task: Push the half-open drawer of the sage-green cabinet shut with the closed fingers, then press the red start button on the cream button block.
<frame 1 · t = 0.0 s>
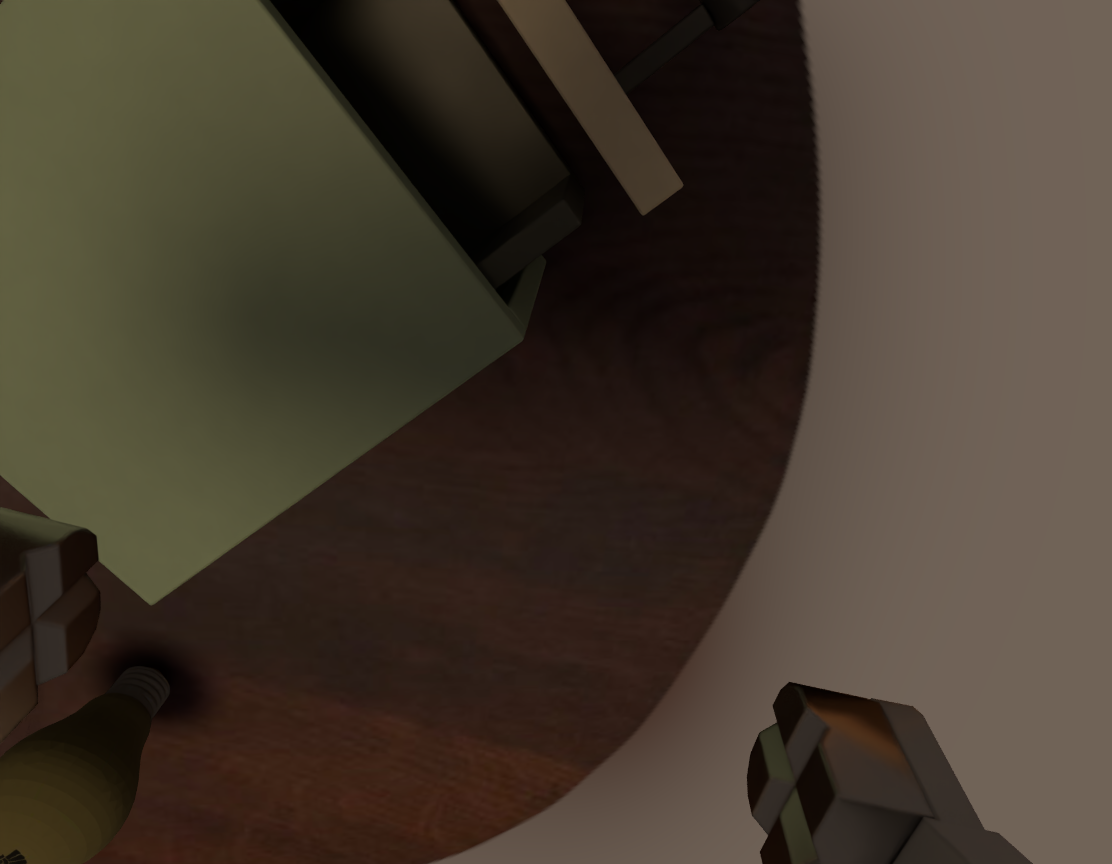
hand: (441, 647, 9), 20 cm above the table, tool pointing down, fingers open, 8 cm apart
light bulb: (155, 670, 37), on the table
drawer: (418, 103, 20), point 5 cm above the table, slide at 4.0 cm
cabinet: (289, 240, 27), on the table
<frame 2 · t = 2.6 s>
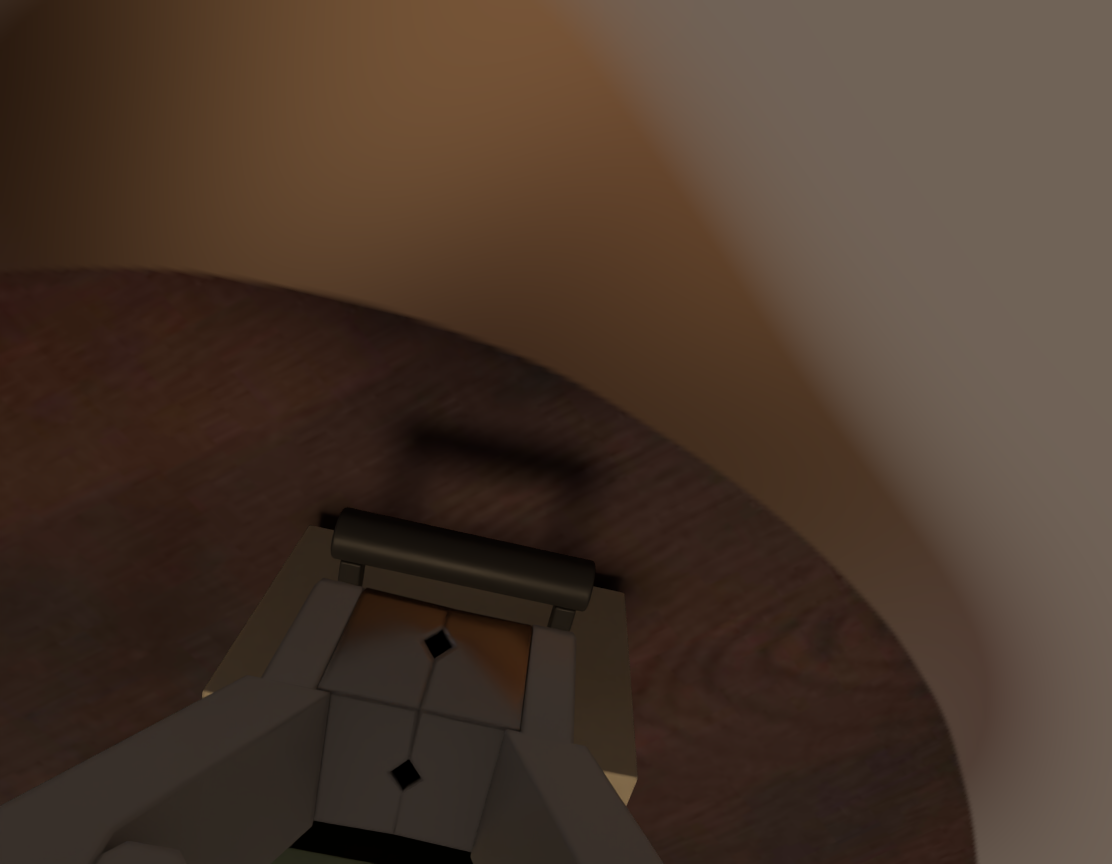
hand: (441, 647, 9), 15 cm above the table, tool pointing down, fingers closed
drawer: (427, 739, 24), point 5 cm above the table, slide at 4.0 cm
cabinet: (421, 775, 32), on the table
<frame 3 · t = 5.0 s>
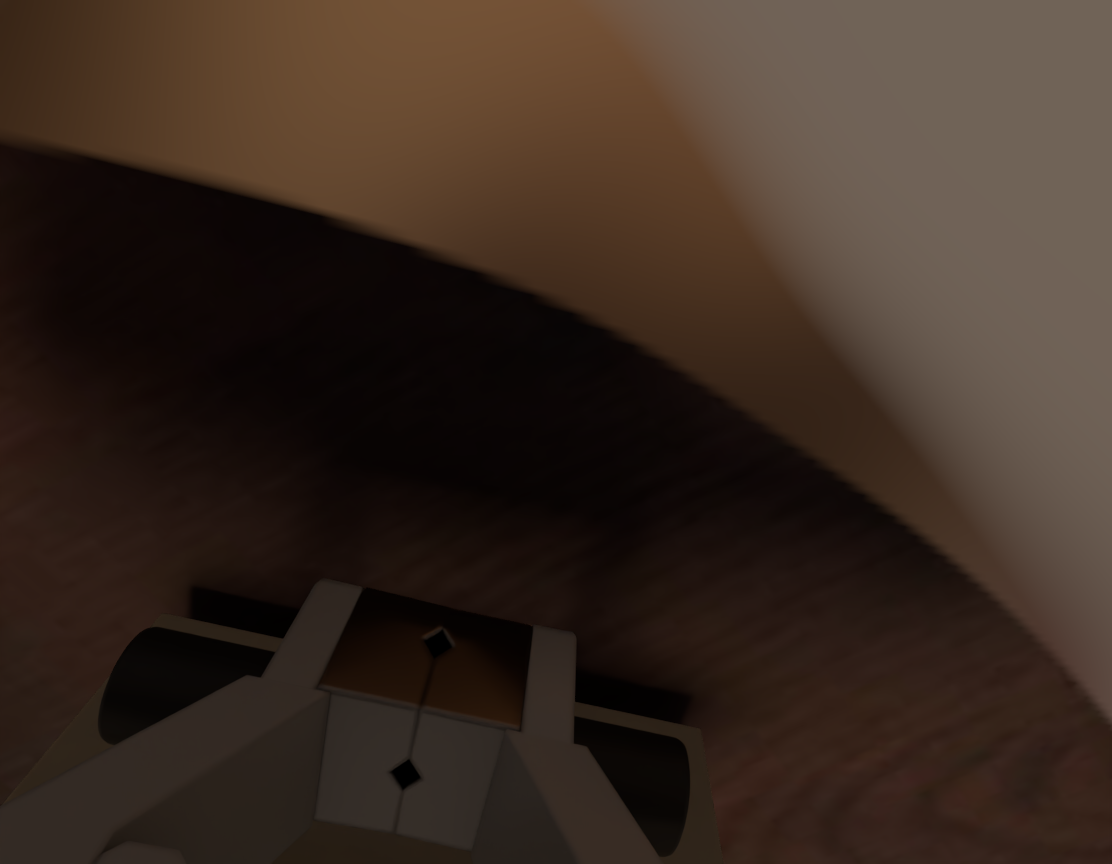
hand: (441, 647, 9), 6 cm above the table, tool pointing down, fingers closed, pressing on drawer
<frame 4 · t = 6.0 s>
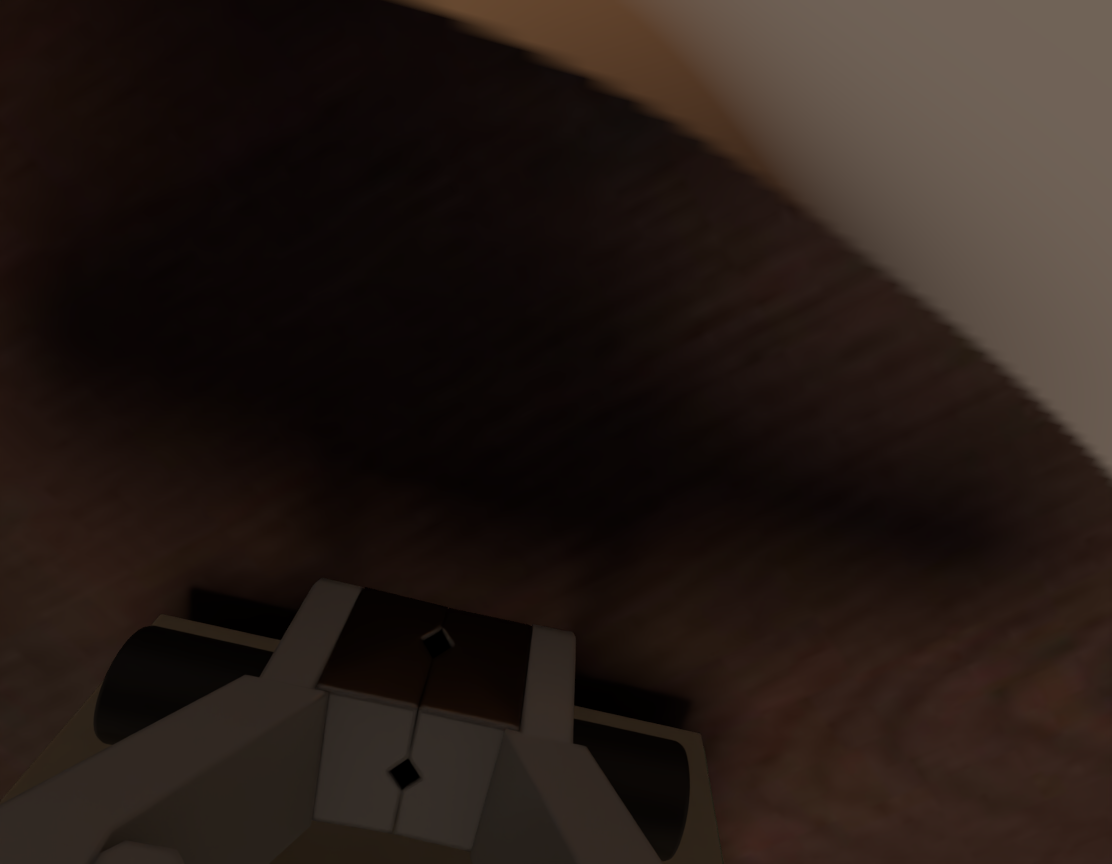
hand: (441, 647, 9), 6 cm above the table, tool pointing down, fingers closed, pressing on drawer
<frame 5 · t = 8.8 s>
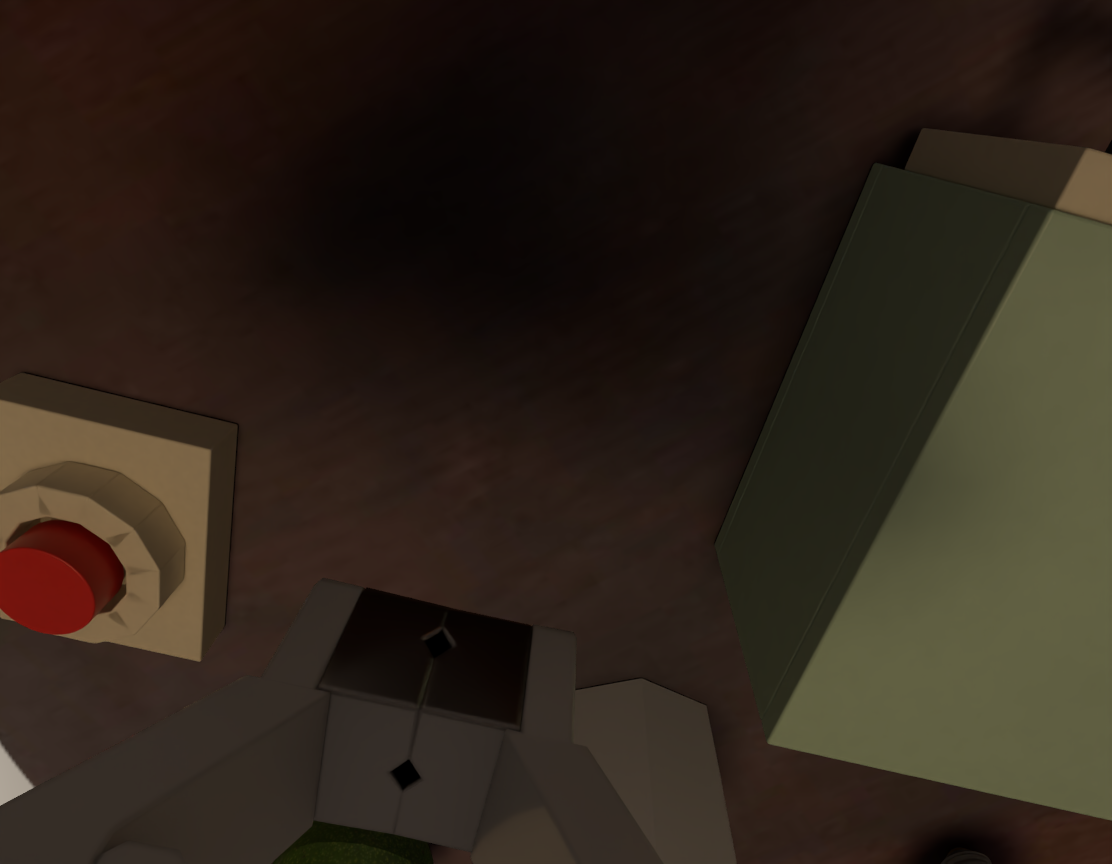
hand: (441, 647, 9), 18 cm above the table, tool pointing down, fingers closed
start button: (57, 577, 25), point 4 cm above the table, slide at 0.1 cm
light bulb: (955, 848, 36), on the table
fruit: (376, 810, 36), on the table
drawer: (1097, 368, 20), point 5 cm above the table, slide at 0.0 cm
mug: (648, 766, 34), on the table
button block: (131, 509, 29), on the table
cabinet: (951, 420, 26), on the table
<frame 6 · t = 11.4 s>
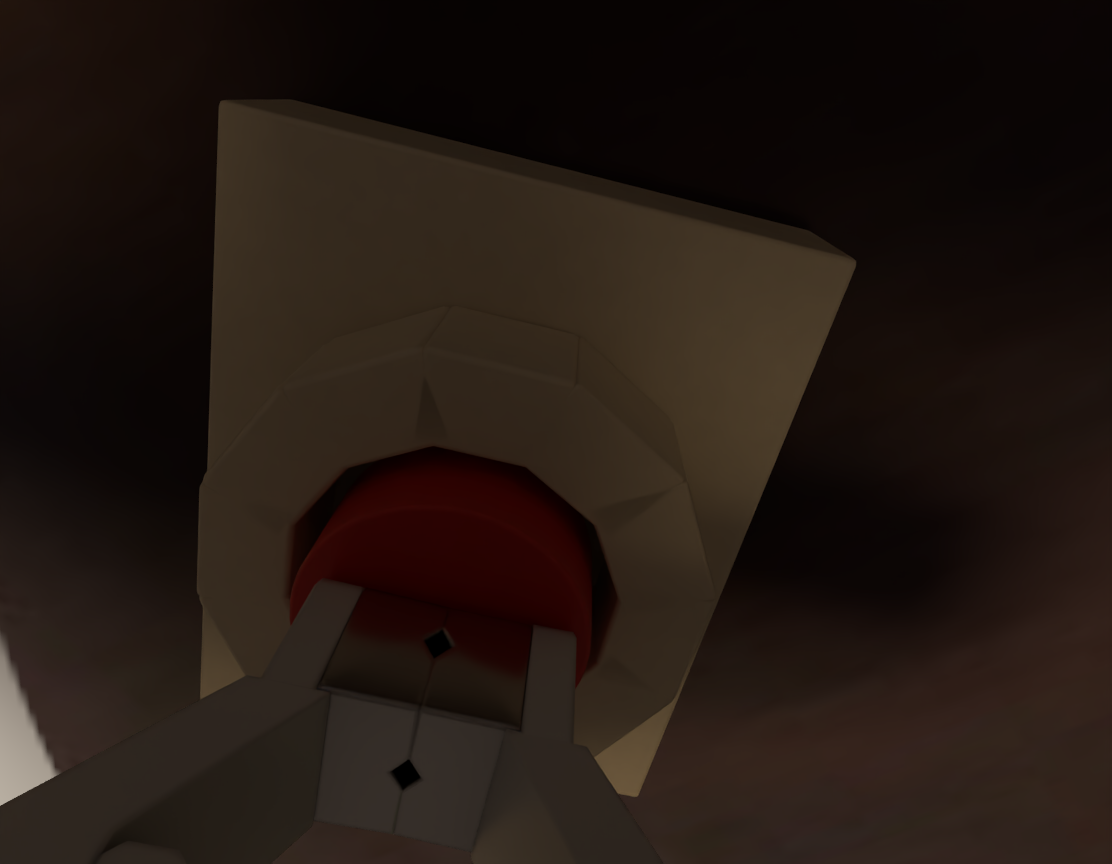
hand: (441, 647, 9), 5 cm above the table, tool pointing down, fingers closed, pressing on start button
start button: (452, 592, 9), point 4 cm above the table, slide at -0.5 cm, touching gripper
button block: (490, 457, 13), on the table
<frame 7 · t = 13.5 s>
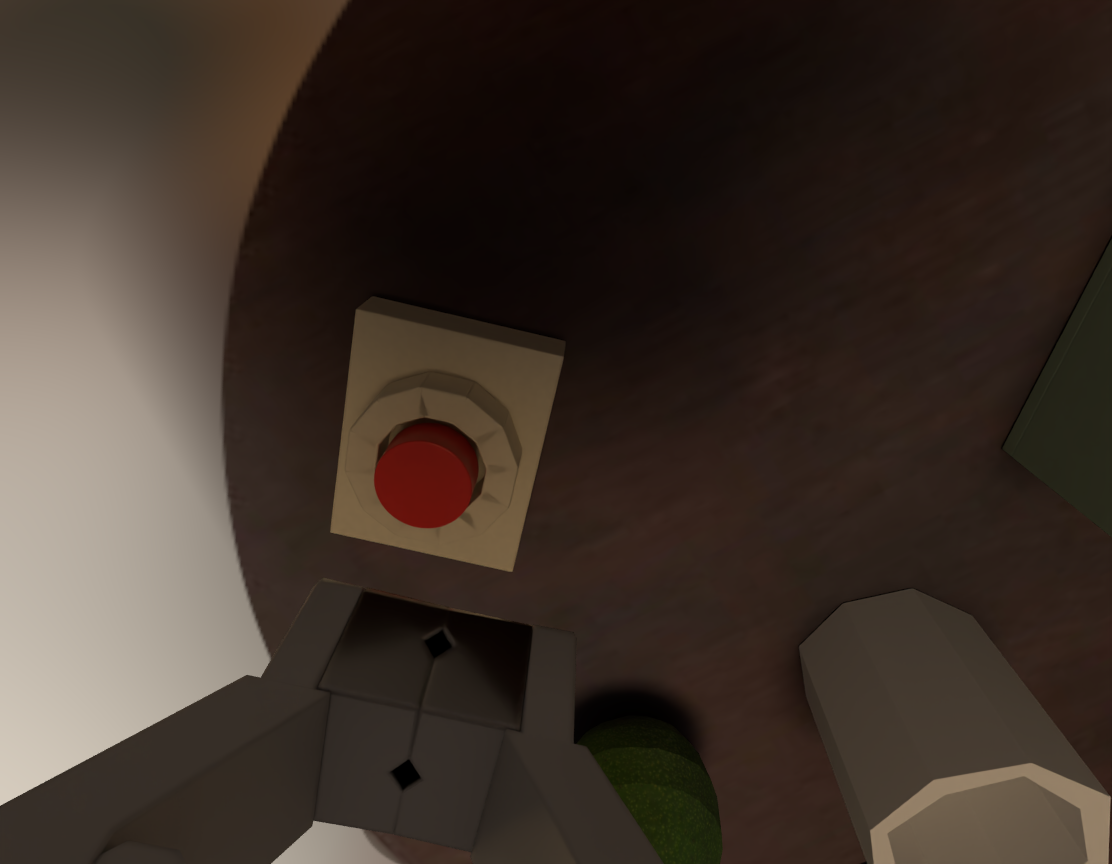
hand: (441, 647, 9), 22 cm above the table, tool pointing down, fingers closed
start button: (427, 475, 27), point 4 cm above the table, slide at 0.1 cm
fruit: (629, 736, 38), on the table
mug: (904, 682, 36), on the table
button block: (449, 429, 31), on the table
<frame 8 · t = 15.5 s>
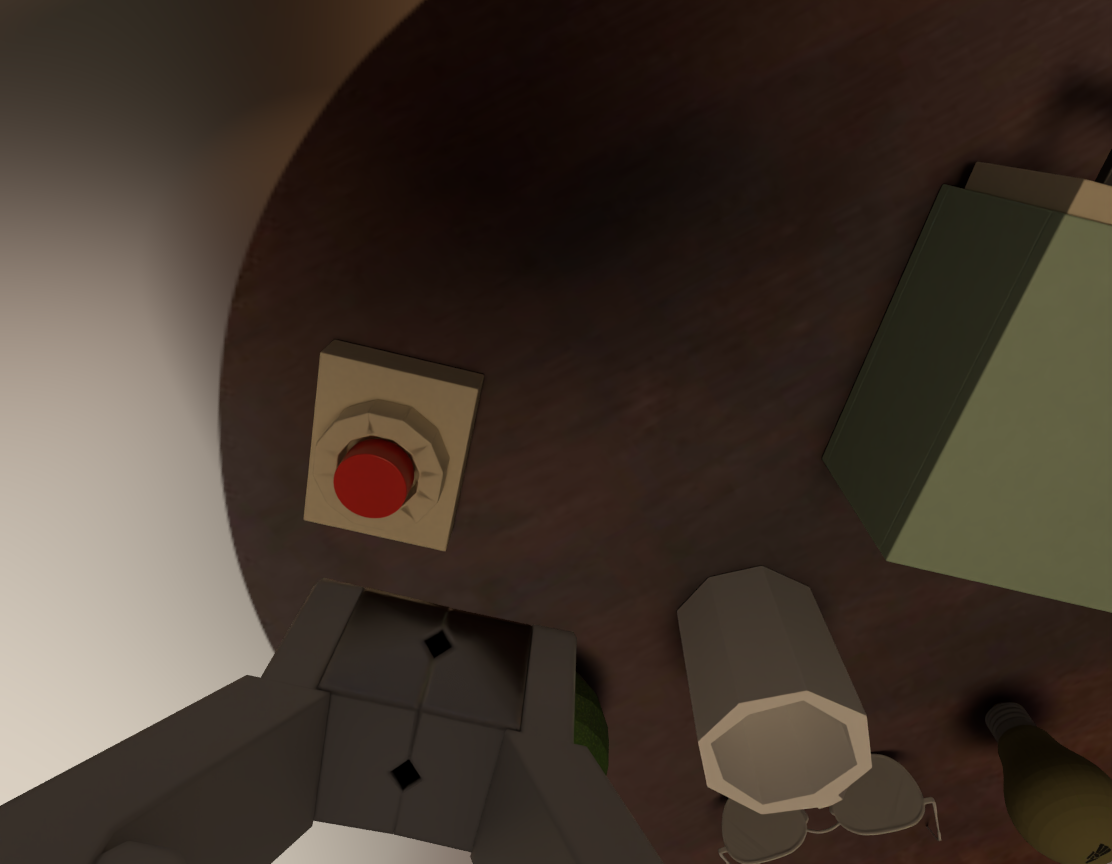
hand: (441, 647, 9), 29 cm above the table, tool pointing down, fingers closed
start button: (374, 478, 36), point 4 cm above the table, slide at 0.1 cm
light bulb: (997, 705, 46), on the table
fruit: (547, 682, 47), on the table
drawer: (1095, 315, 31), point 5 cm above the table, slide at 0.0 cm
sunglasses: (820, 808, 51), on the table
mug: (761, 639, 45), on the table
button block: (396, 440, 40), on the table
cabinet: (994, 362, 37), on the table
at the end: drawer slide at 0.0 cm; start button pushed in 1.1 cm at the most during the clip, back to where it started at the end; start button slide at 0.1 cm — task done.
